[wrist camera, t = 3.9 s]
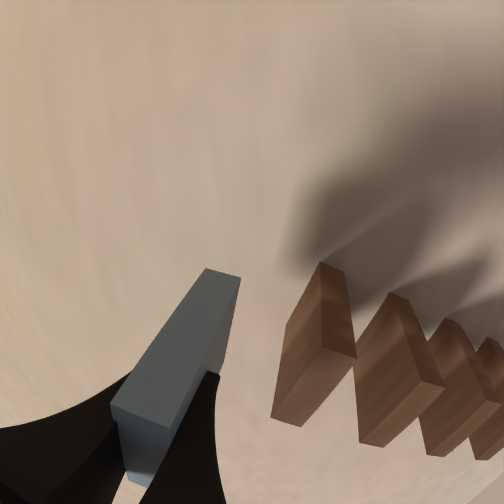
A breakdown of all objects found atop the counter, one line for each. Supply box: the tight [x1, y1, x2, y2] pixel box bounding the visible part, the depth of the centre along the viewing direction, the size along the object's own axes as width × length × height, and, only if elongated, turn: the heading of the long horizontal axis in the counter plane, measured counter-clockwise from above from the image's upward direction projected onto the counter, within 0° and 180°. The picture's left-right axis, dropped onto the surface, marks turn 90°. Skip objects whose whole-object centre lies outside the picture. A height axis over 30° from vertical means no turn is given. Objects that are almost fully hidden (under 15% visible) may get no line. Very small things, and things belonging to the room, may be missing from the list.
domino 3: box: [353, 293, 445, 448], centre depth 16 cm, size 2×5×8 cm, turn 159°
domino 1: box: [110, 268, 241, 488], centre depth 11 cm, size 2×5×8 cm, turn 169°
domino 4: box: [418, 318, 502, 457], centre depth 16 cm, size 2×5×8 cm, turn 159°
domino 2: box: [270, 262, 357, 427], centre depth 16 cm, size 2×5×8 cm, turn 159°
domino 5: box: [469, 338, 504, 460], centre depth 16 cm, size 2×5×8 cm, turn 159°
